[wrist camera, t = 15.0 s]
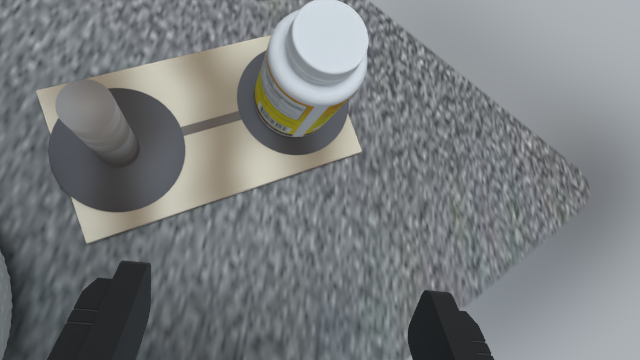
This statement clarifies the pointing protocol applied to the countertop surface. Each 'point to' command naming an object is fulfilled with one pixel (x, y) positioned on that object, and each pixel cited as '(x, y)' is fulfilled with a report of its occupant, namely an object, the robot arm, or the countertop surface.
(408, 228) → the countertop surface
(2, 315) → the cereal bowl
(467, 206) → the countertop surface
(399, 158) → the countertop surface
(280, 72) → the supplement bottle
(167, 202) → the peg stand
